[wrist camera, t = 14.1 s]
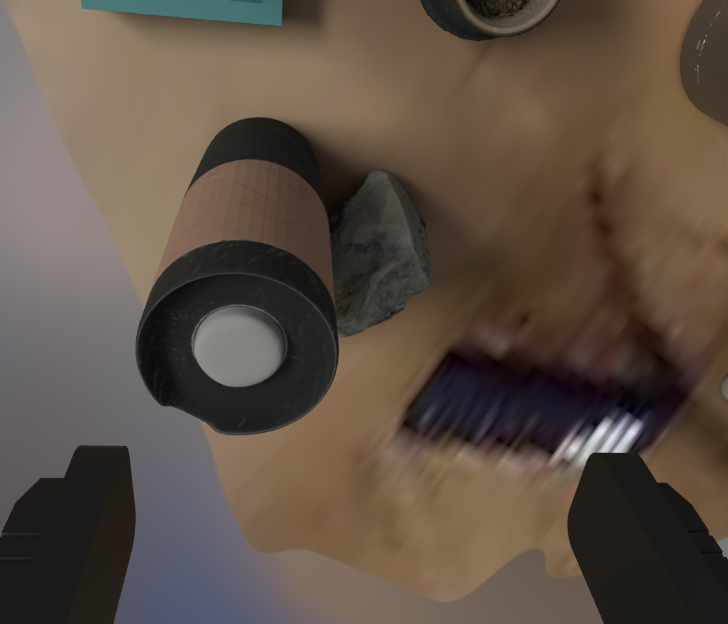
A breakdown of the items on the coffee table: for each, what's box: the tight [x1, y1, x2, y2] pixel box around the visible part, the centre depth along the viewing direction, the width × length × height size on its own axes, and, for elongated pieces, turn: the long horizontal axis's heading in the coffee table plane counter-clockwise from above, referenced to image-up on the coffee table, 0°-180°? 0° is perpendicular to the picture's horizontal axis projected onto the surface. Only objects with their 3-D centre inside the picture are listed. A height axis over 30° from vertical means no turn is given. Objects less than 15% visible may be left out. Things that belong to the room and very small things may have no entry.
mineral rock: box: [328, 169, 433, 337], centre depth 41 cm, size 13×11×10 cm
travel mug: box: [136, 117, 339, 435], centre depth 33 cm, size 8×8×20 cm
